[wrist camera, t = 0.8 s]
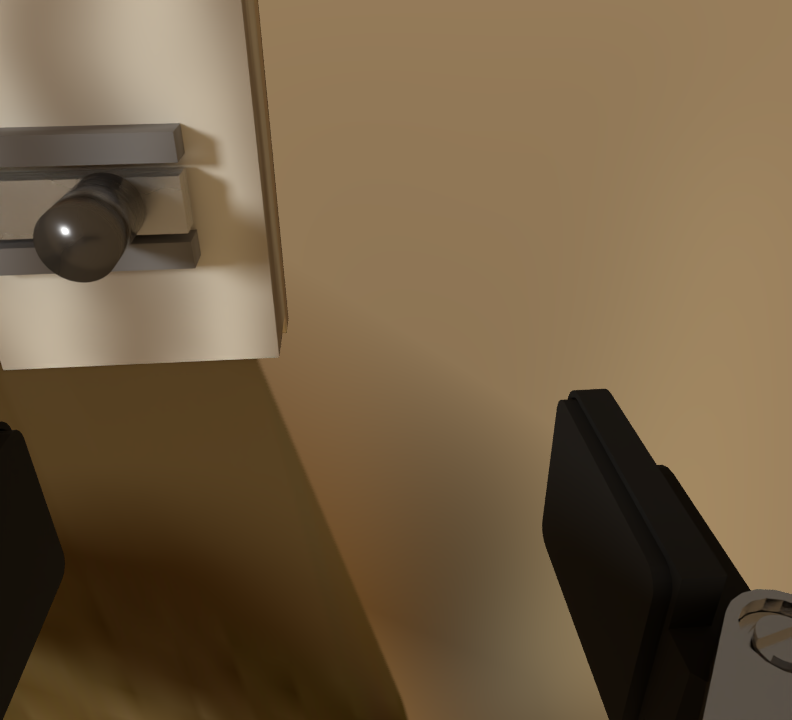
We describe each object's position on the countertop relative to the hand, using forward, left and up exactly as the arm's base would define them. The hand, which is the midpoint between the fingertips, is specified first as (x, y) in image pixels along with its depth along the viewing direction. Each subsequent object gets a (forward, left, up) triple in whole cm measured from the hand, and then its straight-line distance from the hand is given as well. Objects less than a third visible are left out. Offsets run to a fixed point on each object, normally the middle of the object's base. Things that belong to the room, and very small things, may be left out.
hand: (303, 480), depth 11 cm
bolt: (-7, +5, -16) cm, 18 cm away
